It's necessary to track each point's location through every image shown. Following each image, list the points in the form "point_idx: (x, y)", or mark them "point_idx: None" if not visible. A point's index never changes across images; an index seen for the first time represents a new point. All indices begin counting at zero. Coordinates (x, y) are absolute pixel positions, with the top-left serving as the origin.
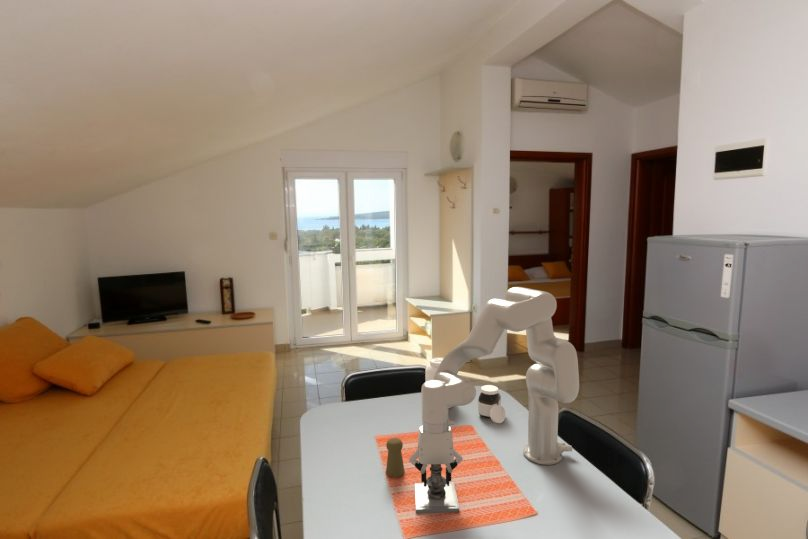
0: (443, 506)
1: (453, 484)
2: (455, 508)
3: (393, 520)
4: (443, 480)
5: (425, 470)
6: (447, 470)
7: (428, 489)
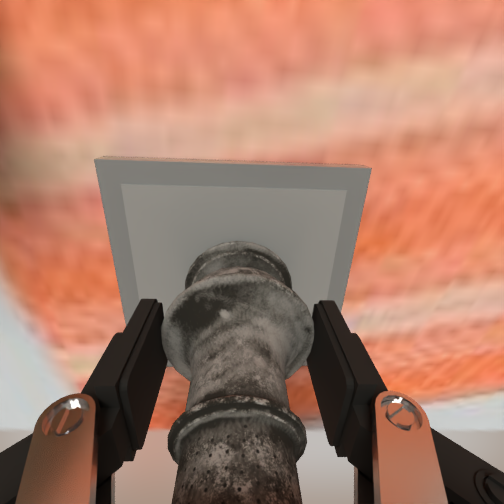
0: None
1: (361, 187)
2: None
3: (50, 385)
4: (292, 356)
5: (120, 465)
6: (351, 455)
7: (193, 235)
